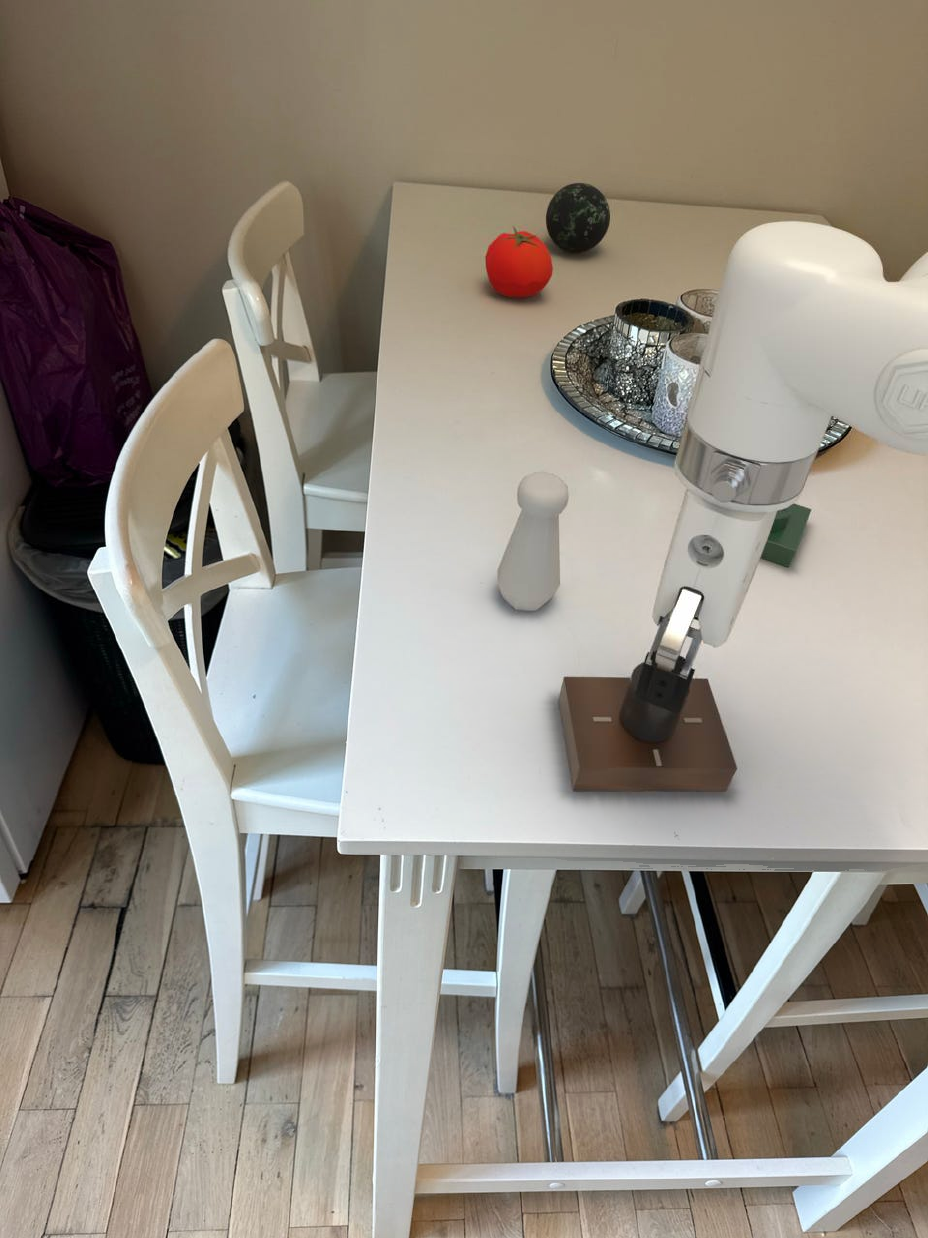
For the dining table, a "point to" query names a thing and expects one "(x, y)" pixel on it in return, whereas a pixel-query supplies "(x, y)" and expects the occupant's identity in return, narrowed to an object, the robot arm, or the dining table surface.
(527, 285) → the tomato
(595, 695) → the panel
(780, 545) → the button box
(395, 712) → the dining table surface
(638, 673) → the knob
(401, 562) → the dining table surface
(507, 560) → the salt shaker
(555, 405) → the dining table surface
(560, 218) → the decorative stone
